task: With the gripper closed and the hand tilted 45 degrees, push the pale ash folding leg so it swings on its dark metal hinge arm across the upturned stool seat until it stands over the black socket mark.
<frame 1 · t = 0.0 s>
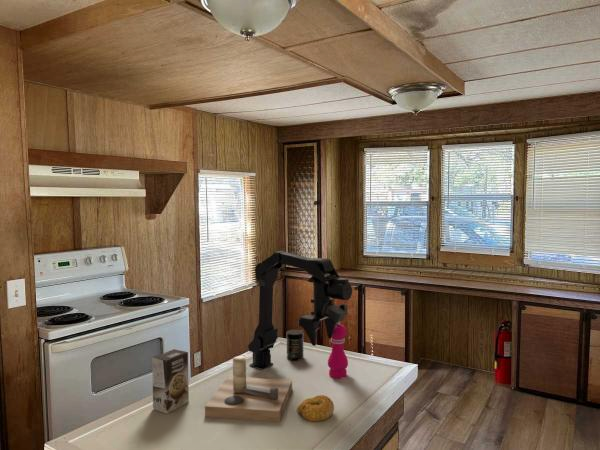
hand: (322, 342, 153), 15 cm above the counter, tool pointing down, fingers open, 9 cm apart
stool seat: (251, 401, 141), on the counter
coffee box: (171, 406, 139), on the counter
folding leg: (255, 377, 139), point 8 cm above the counter, hinge at 30.0°
bagel: (315, 415, 133), on the counter
supplement container: (295, 358, 179), on the counter
pepper mill: (337, 375, 162), on the counter
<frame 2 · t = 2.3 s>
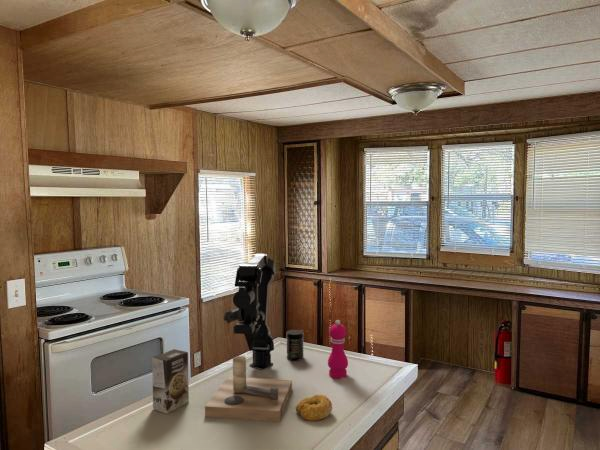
hand: (250, 346, 154), 13 cm above the counter, tool pointing down, fingers closed
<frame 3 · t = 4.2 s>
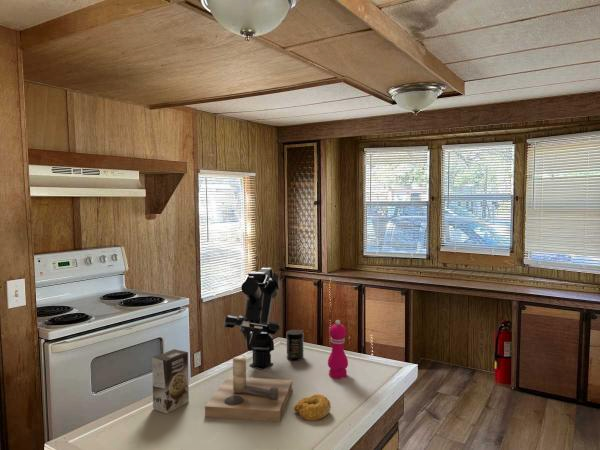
hand: (248, 350, 151), 13 cm above the counter, tool tilted 35°, fingers closed
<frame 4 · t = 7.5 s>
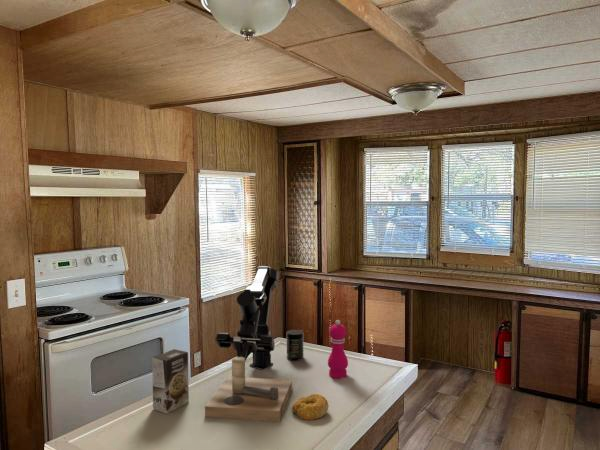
hand: (240, 366, 143), 11 cm above the counter, tool tilted 45°, fingers closed, pressing on folding leg
folding leg: (254, 377, 139), point 8 cm above the counter, hinge at 27.0°, touching gripper
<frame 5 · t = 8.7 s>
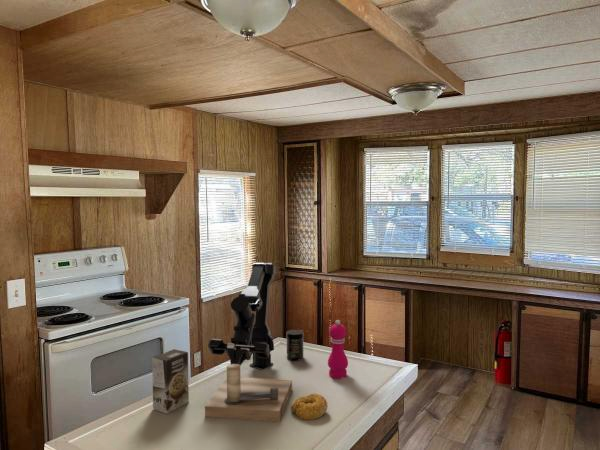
hand: (233, 374, 137), 10 cm above the counter, tool tilted 45°, fingers closed, pressing on folding leg
folding leg: (252, 382, 135), point 8 cm above the counter, hinge at -1.6°, touching gripper
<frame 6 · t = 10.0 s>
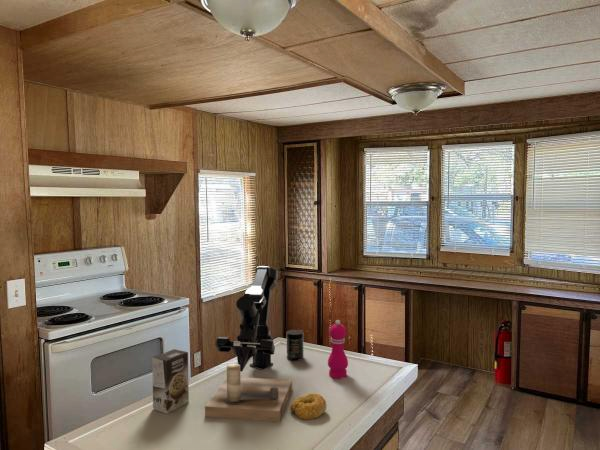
hand: (240, 371, 142), 9 cm above the counter, tool tilted 45°, fingers closed
folding leg: (252, 382, 135), point 8 cm above the counter, hinge at -0.8°
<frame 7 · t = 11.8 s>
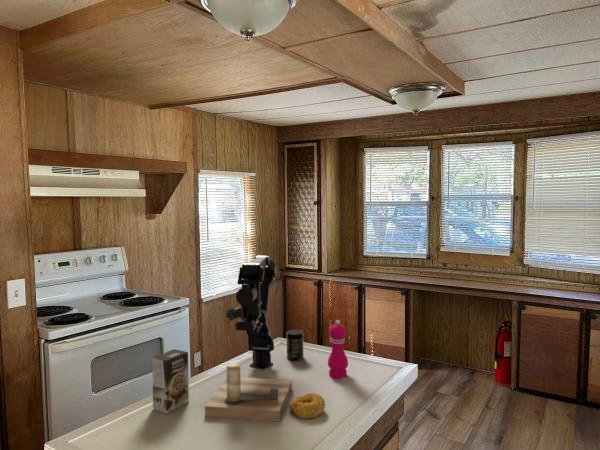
hand: (252, 344, 156), 13 cm above the counter, tool pointing down, fingers closed
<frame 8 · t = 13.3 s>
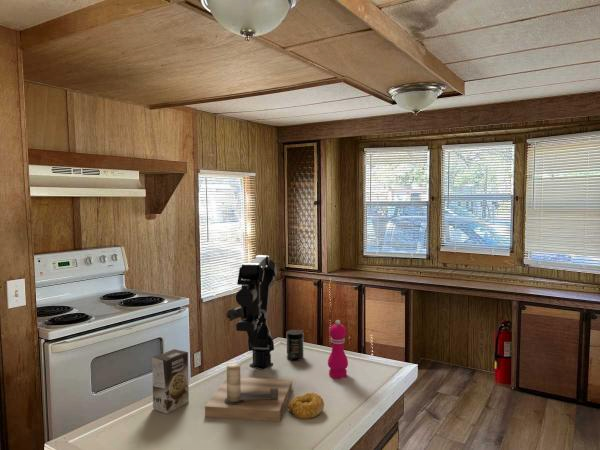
hand: (252, 344, 156), 13 cm above the counter, tool pointing down, fingers closed
at the end: folding leg at -1° (first picture: +30°); the gripper is holding nothing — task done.
